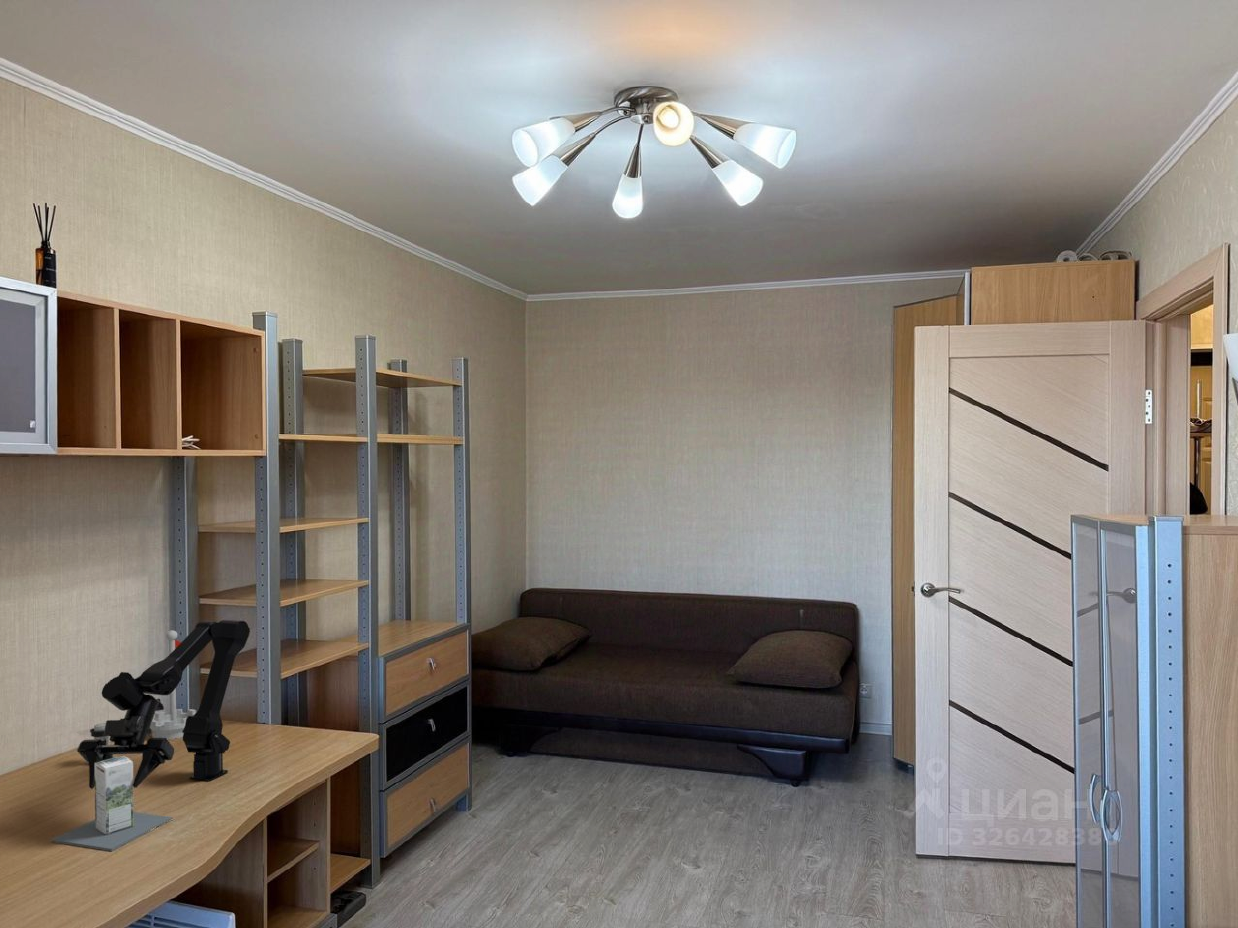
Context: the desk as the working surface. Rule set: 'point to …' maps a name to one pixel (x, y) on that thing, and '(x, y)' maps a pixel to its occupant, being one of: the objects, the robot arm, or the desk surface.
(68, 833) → the slate mat
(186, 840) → the desk surface
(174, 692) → the flag stand
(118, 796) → the syrup box
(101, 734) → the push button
